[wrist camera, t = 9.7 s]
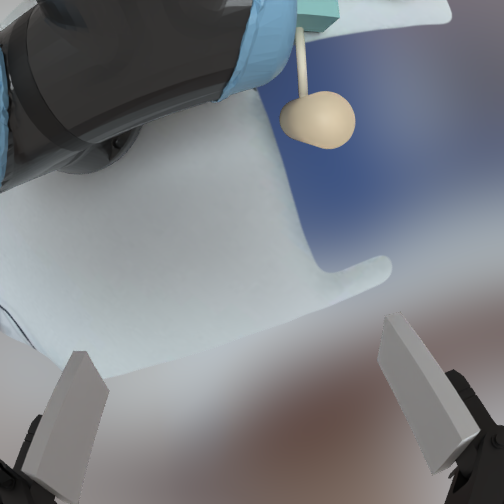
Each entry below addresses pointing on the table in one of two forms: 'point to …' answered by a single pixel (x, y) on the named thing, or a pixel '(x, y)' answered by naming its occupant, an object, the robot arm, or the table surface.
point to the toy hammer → (321, 103)
